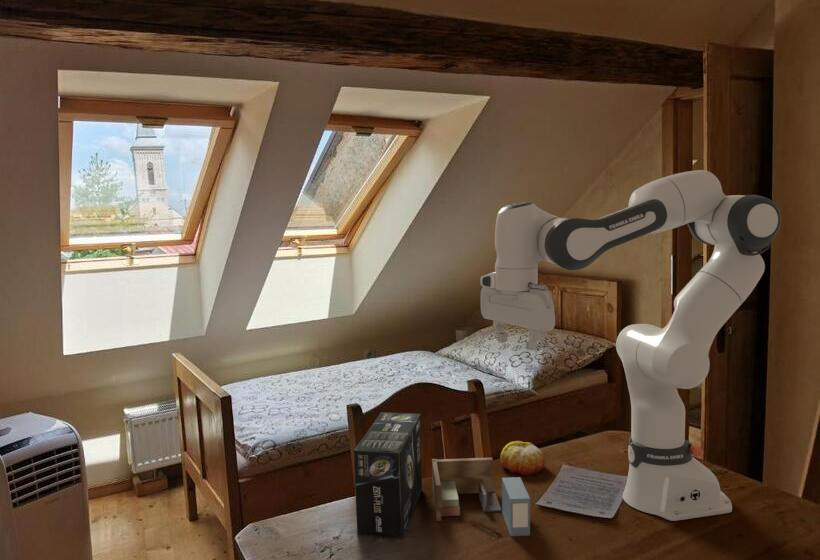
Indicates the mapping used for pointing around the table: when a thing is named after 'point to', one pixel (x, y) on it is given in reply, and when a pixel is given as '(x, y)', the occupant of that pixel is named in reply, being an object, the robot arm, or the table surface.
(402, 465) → the box
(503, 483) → the book
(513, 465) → the fruit
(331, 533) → the table surface
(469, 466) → the shelf
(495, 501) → the bookend
